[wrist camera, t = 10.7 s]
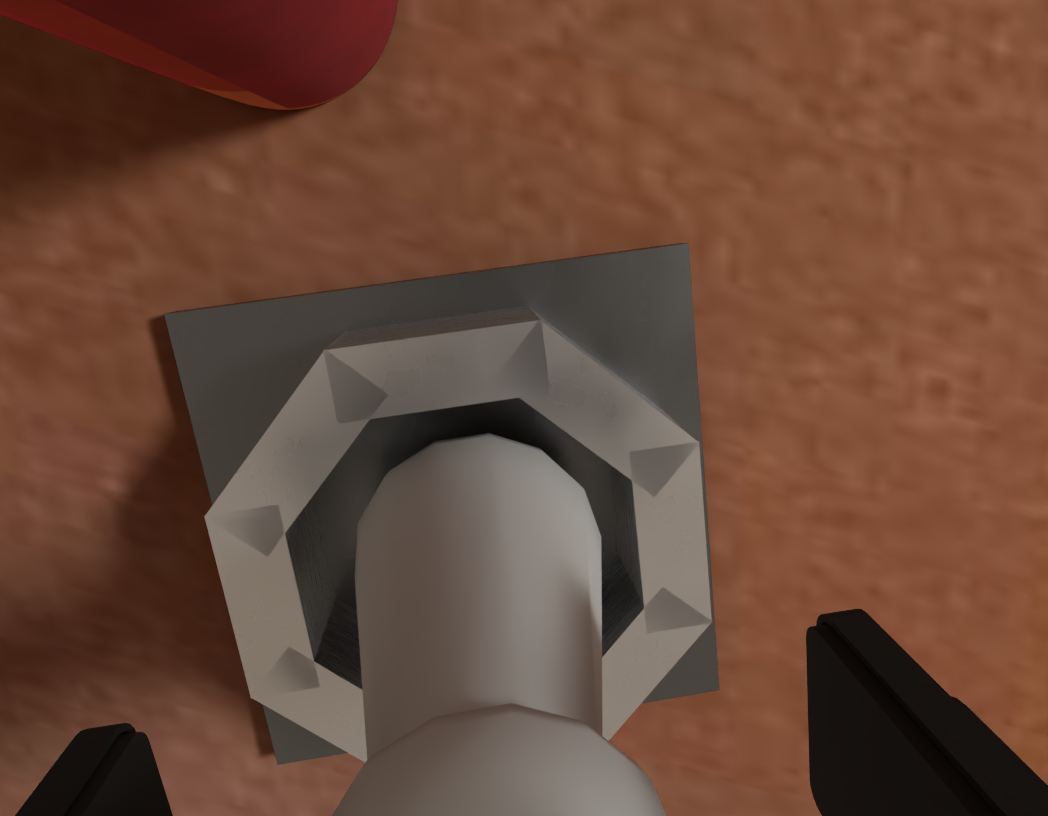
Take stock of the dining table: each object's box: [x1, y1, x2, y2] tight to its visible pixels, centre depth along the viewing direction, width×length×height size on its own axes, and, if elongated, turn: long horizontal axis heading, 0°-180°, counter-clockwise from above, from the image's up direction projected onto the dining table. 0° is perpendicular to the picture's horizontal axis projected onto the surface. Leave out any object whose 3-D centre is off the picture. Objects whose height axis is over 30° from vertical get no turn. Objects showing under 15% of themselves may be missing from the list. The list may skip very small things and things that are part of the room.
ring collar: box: [164, 243, 719, 765], centre depth 18 cm, size 13×13×4 cm
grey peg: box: [332, 433, 666, 816], centre depth 13 cm, size 6×6×13 cm
